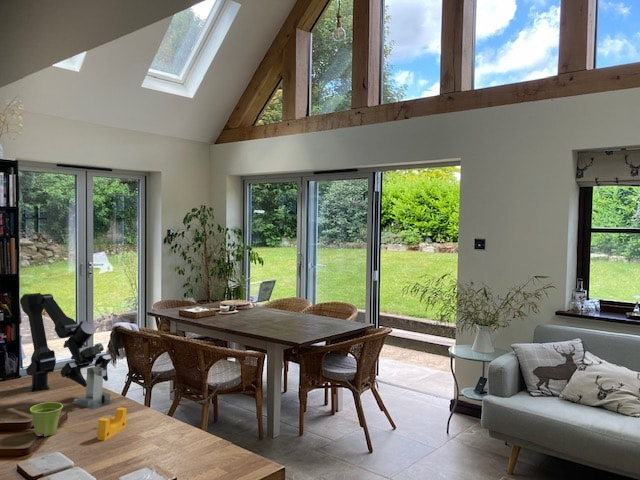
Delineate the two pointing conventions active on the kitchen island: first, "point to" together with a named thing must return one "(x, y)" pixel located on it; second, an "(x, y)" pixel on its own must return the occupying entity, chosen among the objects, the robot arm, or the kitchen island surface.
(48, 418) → the plant pot
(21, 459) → the kitchen island surface
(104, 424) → the pipe clamp
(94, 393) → the grey upright block
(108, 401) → the vise
